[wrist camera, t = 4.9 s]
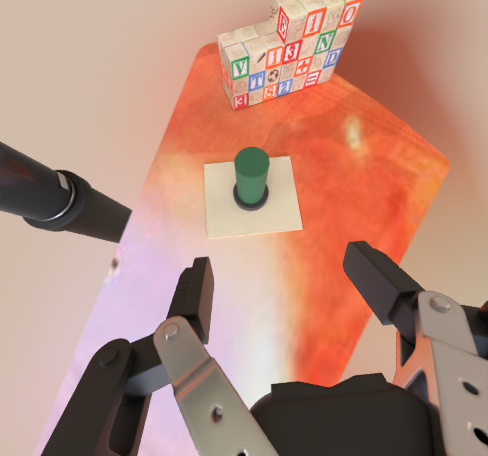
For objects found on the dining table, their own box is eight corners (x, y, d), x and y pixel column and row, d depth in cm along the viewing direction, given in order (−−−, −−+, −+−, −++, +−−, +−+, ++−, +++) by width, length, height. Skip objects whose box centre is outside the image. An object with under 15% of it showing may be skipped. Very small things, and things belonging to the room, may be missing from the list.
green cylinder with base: (235, 212, 32) (229, 186, 23) (232, 181, 34) (226, 143, 24) (269, 209, 32) (279, 181, 23) (265, 177, 34) (272, 139, 24)
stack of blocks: (233, 112, 38) (227, 37, 26) (223, 89, 39) (212, 8, 27) (330, 80, 39) (366, -5, 27) (316, 59, 41) (345, -31, 29)
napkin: (207, 238, 32) (207, 238, 31) (203, 164, 35) (203, 164, 35) (302, 229, 32) (302, 229, 31) (289, 156, 35) (289, 155, 35)
